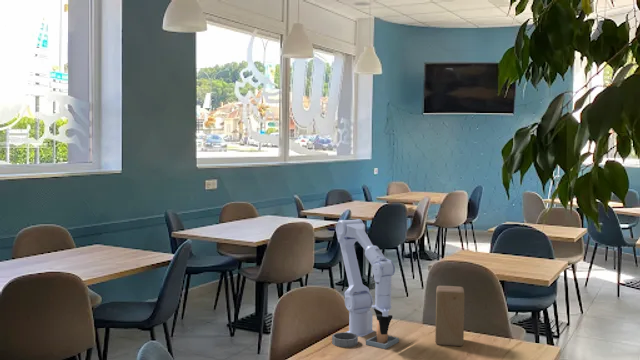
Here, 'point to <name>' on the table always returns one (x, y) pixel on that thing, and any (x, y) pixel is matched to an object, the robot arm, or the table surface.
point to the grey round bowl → (345, 339)
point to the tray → (374, 343)
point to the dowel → (381, 335)
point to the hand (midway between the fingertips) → (382, 331)
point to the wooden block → (449, 315)
